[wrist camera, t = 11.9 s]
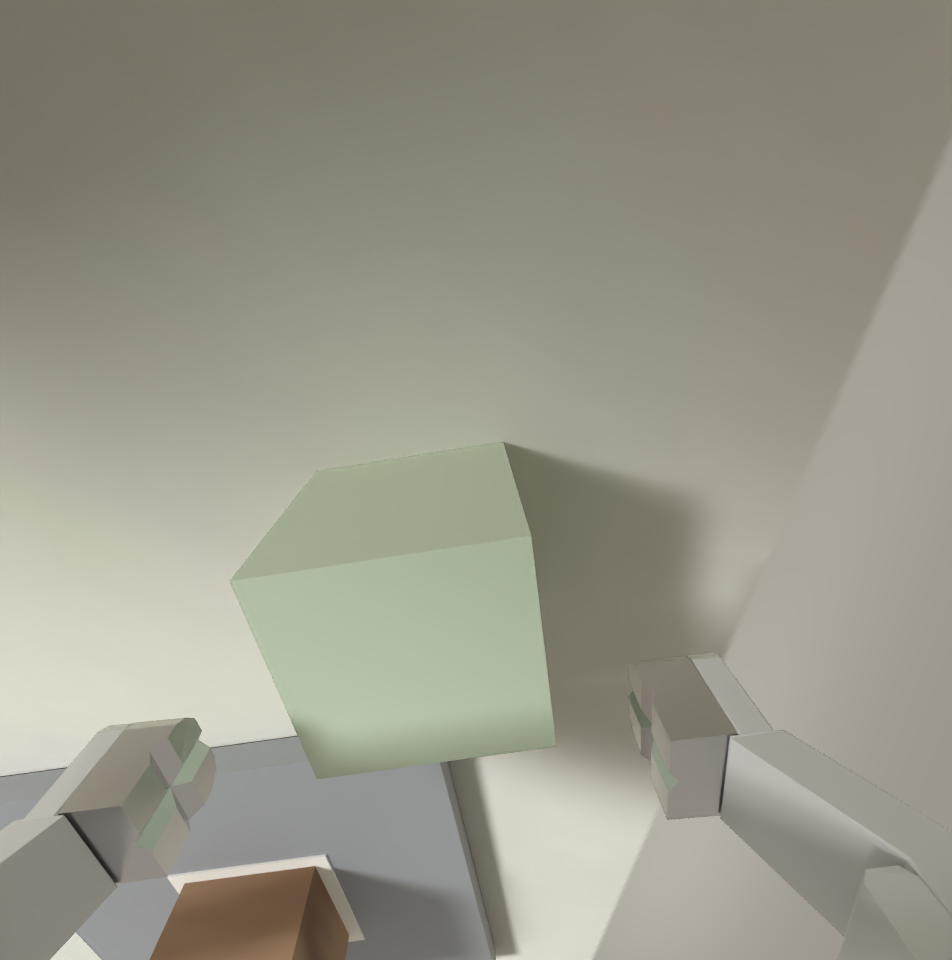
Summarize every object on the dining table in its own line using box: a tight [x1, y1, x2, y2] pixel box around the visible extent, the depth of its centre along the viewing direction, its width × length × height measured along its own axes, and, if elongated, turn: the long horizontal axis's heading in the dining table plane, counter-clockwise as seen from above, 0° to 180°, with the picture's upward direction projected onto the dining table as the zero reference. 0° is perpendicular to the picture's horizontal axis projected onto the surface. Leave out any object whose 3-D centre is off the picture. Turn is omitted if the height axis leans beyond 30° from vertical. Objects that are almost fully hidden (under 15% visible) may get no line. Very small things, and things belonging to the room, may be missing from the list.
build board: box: [0, 736, 496, 960], centre depth 18 cm, size 16×16×1 cm
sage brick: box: [230, 442, 556, 780], centre depth 11 cm, size 5×5×5 cm
